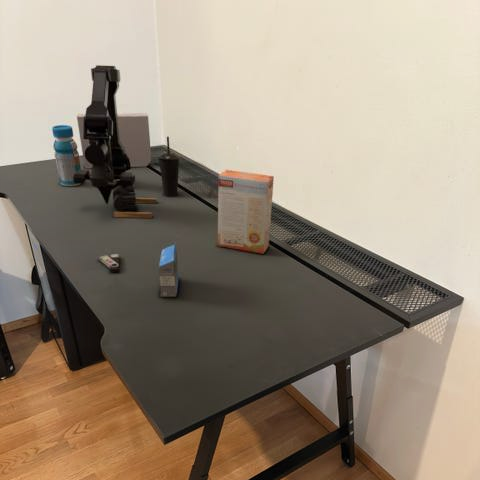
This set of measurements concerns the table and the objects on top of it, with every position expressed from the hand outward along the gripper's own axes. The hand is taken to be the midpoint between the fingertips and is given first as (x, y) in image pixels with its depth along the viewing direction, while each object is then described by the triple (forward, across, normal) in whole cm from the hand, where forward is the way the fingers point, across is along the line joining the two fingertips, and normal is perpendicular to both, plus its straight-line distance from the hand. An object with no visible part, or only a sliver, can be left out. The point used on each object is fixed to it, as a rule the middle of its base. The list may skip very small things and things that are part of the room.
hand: (107, 203), depth 151 cm
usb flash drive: (+2, +9, -40) cm, 41 cm away
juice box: (+1, +26, -50) cm, 57 cm away
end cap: (+2, +6, -1) cm, 6 cm away
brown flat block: (+2, +10, 0) cm, 10 cm away
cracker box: (+1, +45, -26) cm, 52 cm away
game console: (+2, -6, +48) cm, 49 cm away
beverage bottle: (+2, -19, +24) cm, 31 cm away
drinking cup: (+2, +19, +16) cm, 25 cm away
